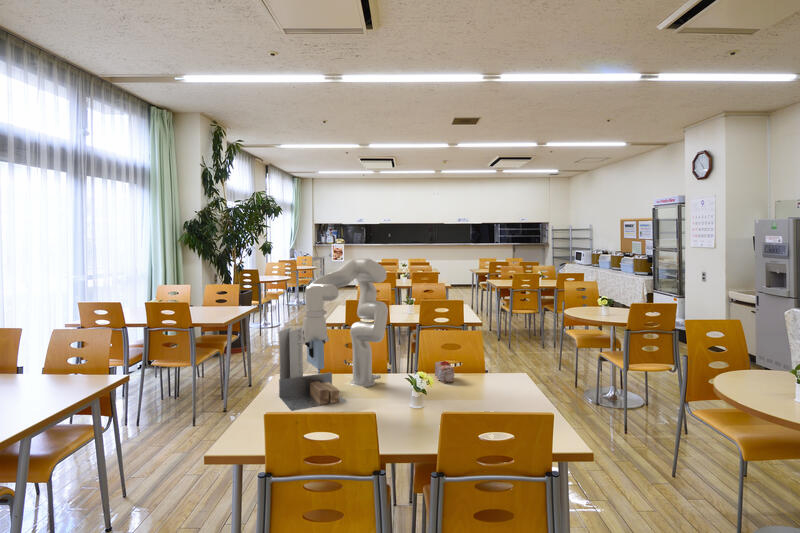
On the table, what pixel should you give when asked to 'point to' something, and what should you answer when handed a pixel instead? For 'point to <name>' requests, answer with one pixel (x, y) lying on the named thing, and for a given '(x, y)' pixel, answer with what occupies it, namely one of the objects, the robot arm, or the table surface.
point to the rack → (302, 391)
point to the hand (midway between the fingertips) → (315, 356)
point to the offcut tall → (319, 392)
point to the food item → (444, 371)
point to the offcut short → (332, 392)
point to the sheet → (317, 354)
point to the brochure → (290, 353)
